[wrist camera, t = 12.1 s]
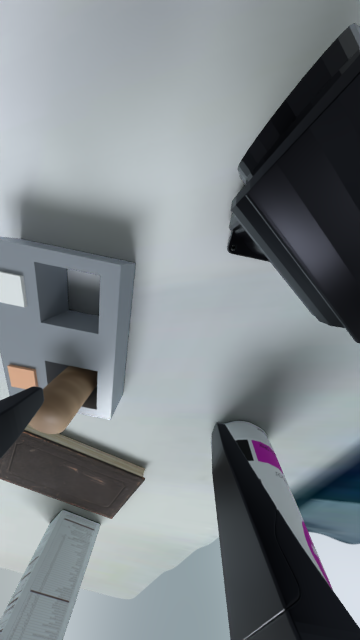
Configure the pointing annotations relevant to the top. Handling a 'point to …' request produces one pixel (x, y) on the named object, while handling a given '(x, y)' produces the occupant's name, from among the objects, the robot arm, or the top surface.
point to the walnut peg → (64, 399)
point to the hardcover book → (70, 472)
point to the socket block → (63, 320)
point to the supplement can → (273, 481)
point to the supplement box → (51, 581)
